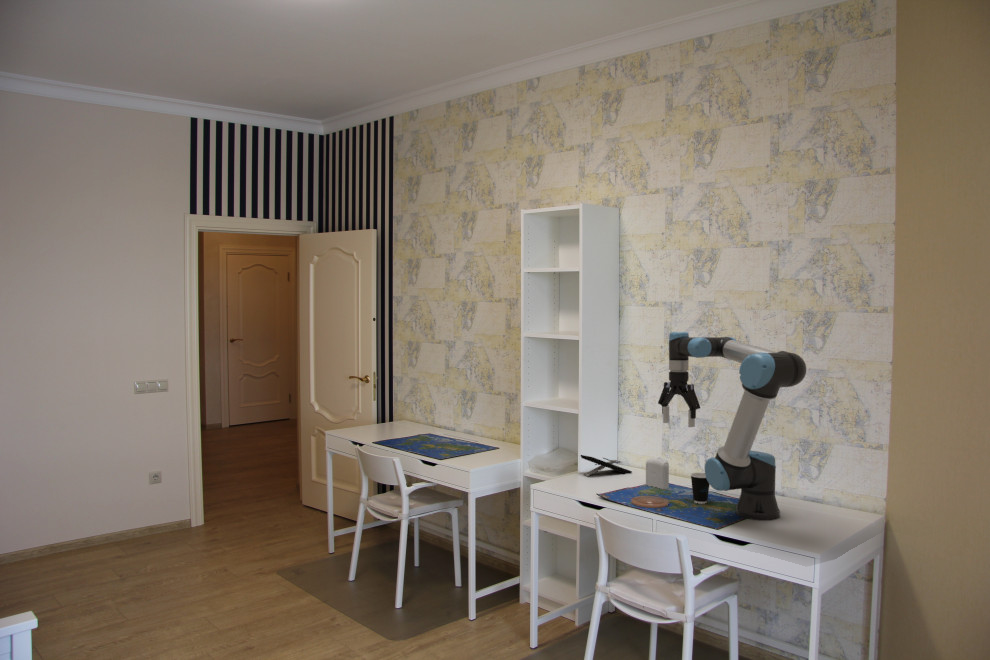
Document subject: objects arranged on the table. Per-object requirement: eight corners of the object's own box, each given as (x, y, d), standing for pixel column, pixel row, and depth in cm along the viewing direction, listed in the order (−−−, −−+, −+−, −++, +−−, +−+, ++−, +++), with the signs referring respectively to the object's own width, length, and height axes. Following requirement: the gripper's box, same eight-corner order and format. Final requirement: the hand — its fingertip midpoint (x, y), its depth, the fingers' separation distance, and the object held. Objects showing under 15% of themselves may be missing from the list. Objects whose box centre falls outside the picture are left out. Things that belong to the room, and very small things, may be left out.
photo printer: (644, 486, 308) (644, 457, 307) (650, 484, 310) (650, 455, 310) (663, 490, 300) (664, 460, 300) (670, 489, 303) (670, 459, 302)
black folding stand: (619, 471, 338) (619, 449, 338) (632, 475, 329) (632, 453, 329) (579, 475, 329) (579, 453, 329) (591, 480, 320) (591, 457, 320)
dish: (676, 505, 277) (676, 501, 277) (647, 509, 271) (647, 506, 271) (652, 496, 290) (652, 493, 290) (623, 501, 283) (623, 497, 283)
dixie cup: (706, 506, 276) (706, 478, 276) (686, 503, 281) (687, 475, 280) (713, 502, 282) (714, 474, 282) (694, 498, 287) (694, 471, 287)
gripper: (709, 372, 279) (709, 428, 279) (663, 368, 300) (662, 420, 300) (695, 373, 275) (695, 429, 275) (649, 369, 296) (649, 421, 296)
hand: (678, 424), depth 288 cm, fingers open, 13 cm apart
